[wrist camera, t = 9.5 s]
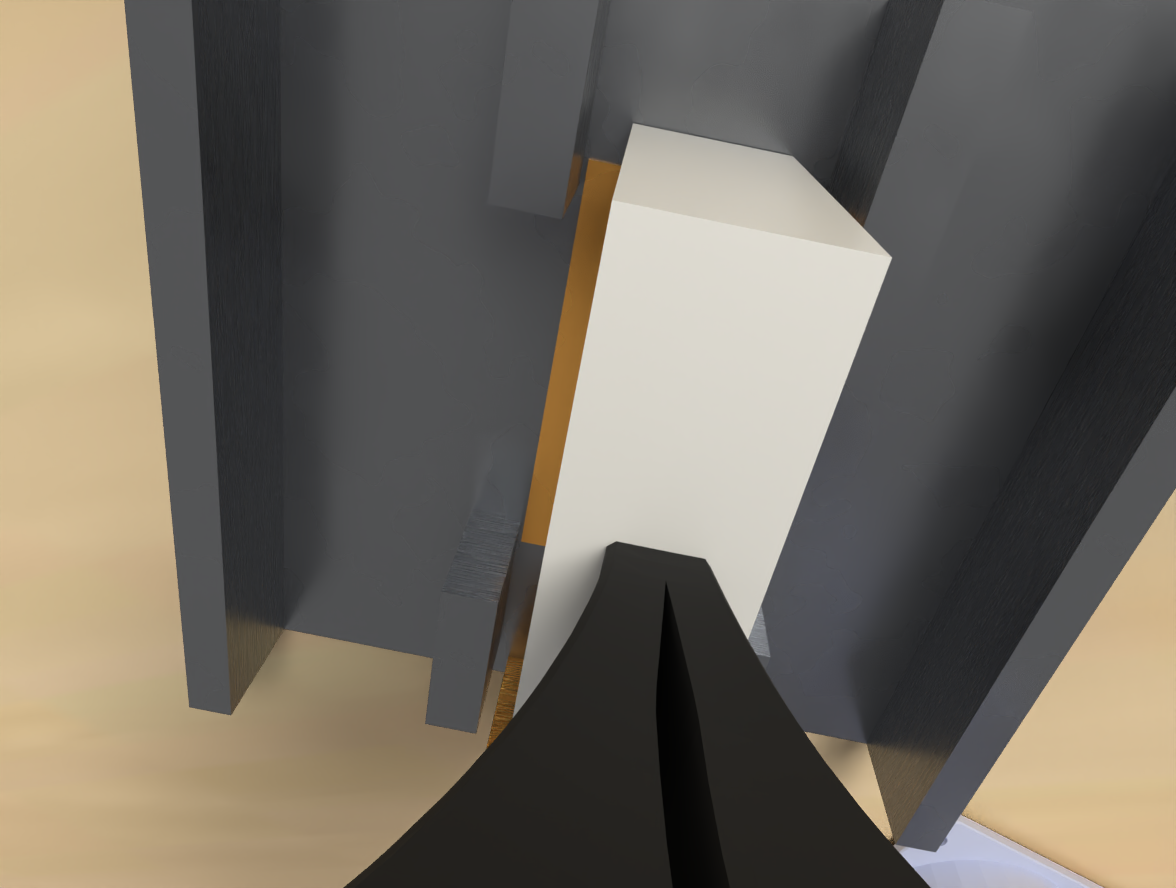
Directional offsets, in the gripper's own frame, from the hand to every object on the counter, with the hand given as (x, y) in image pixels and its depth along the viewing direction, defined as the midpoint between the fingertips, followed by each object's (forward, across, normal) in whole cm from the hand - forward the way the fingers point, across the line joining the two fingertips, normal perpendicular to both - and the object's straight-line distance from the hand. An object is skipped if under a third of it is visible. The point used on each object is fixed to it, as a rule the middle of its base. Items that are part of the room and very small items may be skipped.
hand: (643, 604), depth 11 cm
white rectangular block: (+7, 0, 0) cm, 7 cm away
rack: (+8, 0, 0) cm, 8 cm away
